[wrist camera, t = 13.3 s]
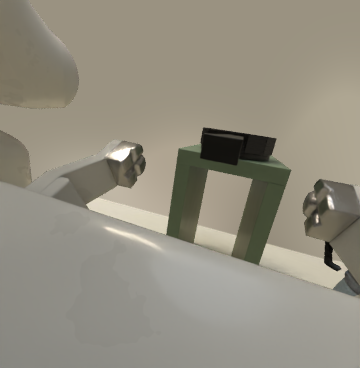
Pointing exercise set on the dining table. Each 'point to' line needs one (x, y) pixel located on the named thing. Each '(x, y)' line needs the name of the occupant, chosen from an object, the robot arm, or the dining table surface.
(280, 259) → the dining table surface
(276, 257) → the dining table surface
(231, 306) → the robot arm
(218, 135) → the pan
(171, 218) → the green hollow pedestal
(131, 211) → the dining table surface
